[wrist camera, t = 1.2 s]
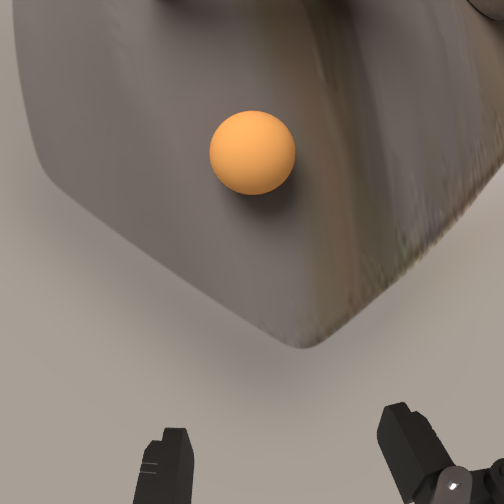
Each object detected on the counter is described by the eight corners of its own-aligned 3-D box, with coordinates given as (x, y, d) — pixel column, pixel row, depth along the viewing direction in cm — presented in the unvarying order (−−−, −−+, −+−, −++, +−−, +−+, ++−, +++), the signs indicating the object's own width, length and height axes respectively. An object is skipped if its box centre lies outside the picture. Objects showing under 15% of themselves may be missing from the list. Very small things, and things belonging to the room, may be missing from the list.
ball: (210, 118, 21) (203, 108, 16) (286, 114, 22) (301, 104, 16) (215, 192, 23) (209, 204, 18) (289, 187, 23) (305, 198, 18)
